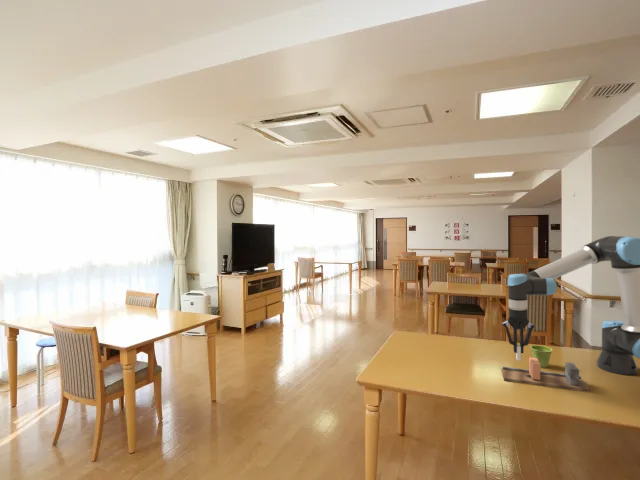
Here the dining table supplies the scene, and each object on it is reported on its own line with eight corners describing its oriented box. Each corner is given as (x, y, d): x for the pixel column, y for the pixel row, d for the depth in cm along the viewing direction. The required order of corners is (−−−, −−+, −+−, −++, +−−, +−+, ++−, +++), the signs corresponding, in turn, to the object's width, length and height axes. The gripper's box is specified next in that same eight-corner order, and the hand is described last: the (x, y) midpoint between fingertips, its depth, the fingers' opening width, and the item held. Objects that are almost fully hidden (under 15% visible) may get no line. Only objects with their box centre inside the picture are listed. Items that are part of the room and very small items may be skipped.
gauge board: (581, 380, 161) (581, 362, 161) (590, 392, 150) (590, 372, 150) (501, 370, 173) (501, 353, 172) (504, 380, 161) (504, 362, 161)
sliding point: (536, 373, 165) (536, 357, 165) (540, 379, 158) (540, 364, 158) (529, 372, 167) (529, 357, 166) (532, 378, 159) (532, 363, 159)
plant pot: (555, 369, 173) (556, 352, 173) (534, 368, 175) (534, 350, 175) (547, 362, 182) (547, 345, 182) (527, 361, 184) (527, 344, 184)
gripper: (532, 307, 165) (533, 358, 166) (501, 305, 170) (501, 355, 170) (535, 311, 158) (536, 364, 159) (502, 309, 163) (503, 361, 163)
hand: (518, 359), depth 165 cm, fingers closed
